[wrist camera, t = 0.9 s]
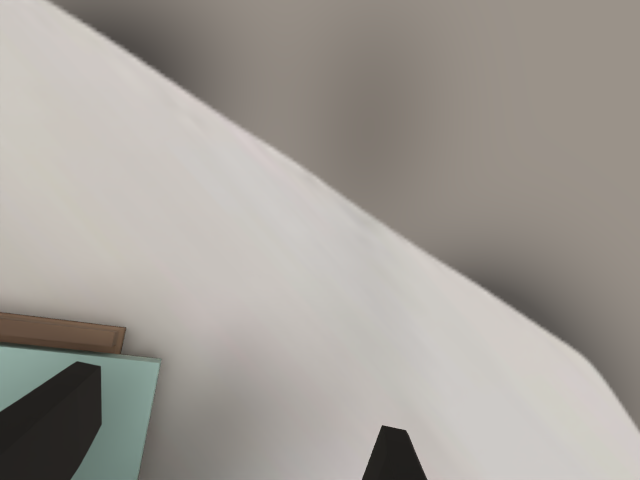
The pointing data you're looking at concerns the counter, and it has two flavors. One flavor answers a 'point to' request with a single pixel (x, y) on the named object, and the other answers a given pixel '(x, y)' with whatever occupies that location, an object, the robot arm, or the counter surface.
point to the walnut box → (60, 333)
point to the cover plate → (116, 392)
